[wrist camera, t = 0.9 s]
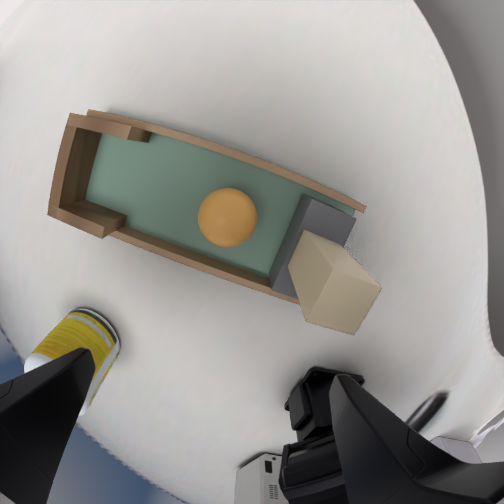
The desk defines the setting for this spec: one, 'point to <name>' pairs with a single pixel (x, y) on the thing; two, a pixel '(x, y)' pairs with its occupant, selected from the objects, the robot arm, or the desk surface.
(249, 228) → the ball
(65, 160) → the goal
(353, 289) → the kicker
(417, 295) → the desk surface
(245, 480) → the stereo radio cassette player
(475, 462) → the game console
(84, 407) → the pill bottle
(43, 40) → the desk surface
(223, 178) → the pitch
